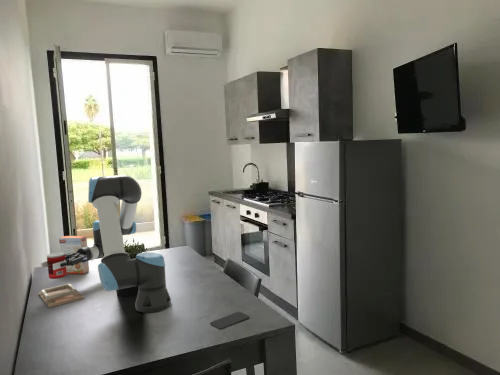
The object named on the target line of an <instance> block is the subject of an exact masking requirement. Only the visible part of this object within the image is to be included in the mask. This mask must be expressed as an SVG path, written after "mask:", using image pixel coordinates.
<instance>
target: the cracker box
mask: <svg viewBox="0 0 500 375" xmlns="http://www.w3.org/2000/svg"><path fill="white" fill-rule="evenodd" d="M58 240H59V252H64V253H65V254H67V253H70V254H72V253H76V252H77V250H78V249H80V248H83V247H86V246H88V239H87V236H86V235H65V236H64V235H63V236H61V237H59V238H58ZM69 259H70V258H69ZM66 262H67V261H66ZM73 264H74V263H73ZM89 265H90V264H89V261H87V262H84V263H82V262H81V263H78V264H76V265H73V266H71V265H70V266H67V265H66V272H67V274H69V275H84V274H86V273H89V272H90V266H89ZM67 274H66V275H67Z"/></svg>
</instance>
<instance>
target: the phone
mask: <svg viewBox="0 0 500 375" xmlns="http://www.w3.org/2000/svg"><path fill="white" fill-rule="evenodd" d="M248 318H249V319H250V316H249V315H247V313H243V312H242V311H236V312H234V313H231V314H228V315H225V316H223V317H221V318H218V319H216V320H213V321H210V323H209V325H210V324H211V325H210V326H211V327H213V328H215V327H216V328H215V329H217V328H218V329H217V330H223V329H226V328H228V326H229V327H231V326H233V324H234V325H236V324H239V323H241V322H243V320H244V321H247V320H249V319H248ZM238 322H239V323H238ZM225 327H226V328H225Z"/></svg>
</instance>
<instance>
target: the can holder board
mask: <svg viewBox="0 0 500 375" xmlns="http://www.w3.org/2000/svg"><path fill="white" fill-rule="evenodd" d="M40 290H41V291H38V296H39V298H41V300H42V301H43V303H45V305H46V306H47V308H49V309H50V308H54V307H56V306H57V307H58V306H60V305H65V304H70V303H74V302H78V301H82V300H85V296H83V295H82V293H80V291H78V289H76V288H75V287H74V286H73V285H72V284H71V283H65V284H60V285H56V286H52V287H48V288H42V289H40Z"/></svg>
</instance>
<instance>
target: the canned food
mask: <svg viewBox="0 0 500 375" xmlns="http://www.w3.org/2000/svg"><path fill="white" fill-rule="evenodd" d="M46 261H47V264H48V267H47V272H48V273H47V274H48V278H49V279H51V280H57V279H58V280H59V279H62V278H64V277H66V276H67V272H66V266H65V267H62V268H59V269H56V270H53V264H55V263H58V262H61V261H66V260H65V253H64V252H60V251H58V252H51V253H49V254H47V255H46Z"/></svg>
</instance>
